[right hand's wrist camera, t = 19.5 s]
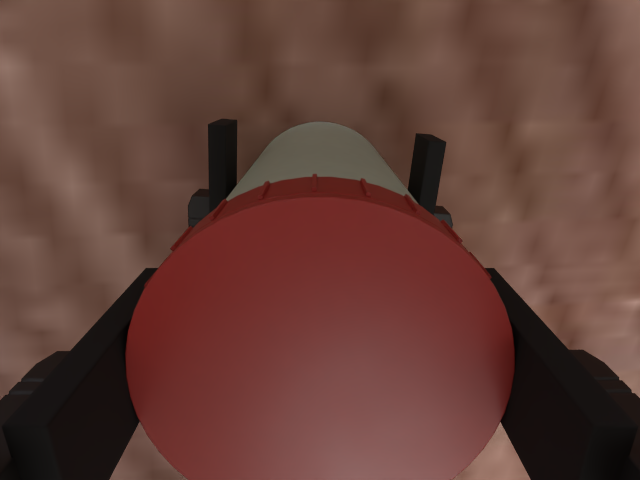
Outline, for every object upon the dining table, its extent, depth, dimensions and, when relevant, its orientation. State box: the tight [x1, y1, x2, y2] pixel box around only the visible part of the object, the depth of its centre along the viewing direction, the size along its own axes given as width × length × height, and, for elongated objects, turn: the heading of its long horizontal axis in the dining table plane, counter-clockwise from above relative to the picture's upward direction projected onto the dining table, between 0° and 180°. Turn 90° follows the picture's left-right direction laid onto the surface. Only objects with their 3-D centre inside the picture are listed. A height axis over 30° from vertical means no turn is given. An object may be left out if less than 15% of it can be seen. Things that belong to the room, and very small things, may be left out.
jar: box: [226, 122, 418, 204], centre depth 20 cm, size 9×9×18 cm
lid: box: [125, 174, 515, 480], centre depth 11 cm, size 9×9×2 cm
